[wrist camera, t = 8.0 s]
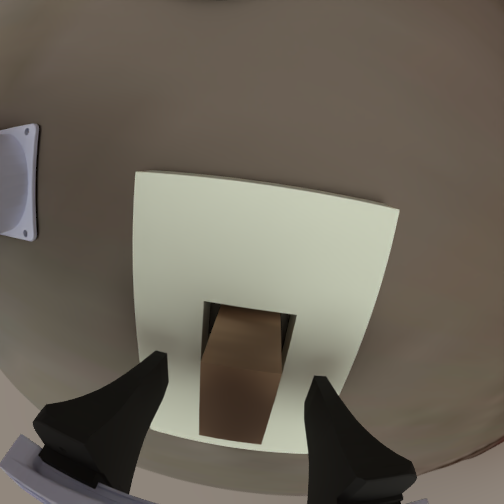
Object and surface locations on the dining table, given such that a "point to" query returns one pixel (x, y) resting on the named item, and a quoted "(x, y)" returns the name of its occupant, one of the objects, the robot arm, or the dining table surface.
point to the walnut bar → (240, 374)
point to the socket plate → (253, 284)
